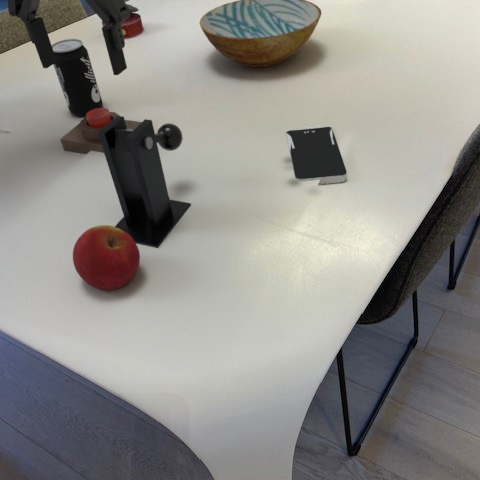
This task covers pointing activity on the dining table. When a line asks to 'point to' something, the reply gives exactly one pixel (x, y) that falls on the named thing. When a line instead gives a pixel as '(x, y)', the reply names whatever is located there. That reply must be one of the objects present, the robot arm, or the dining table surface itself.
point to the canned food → (131, 24)
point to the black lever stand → (141, 184)
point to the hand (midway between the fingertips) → (84, 68)
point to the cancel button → (98, 117)
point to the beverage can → (76, 77)
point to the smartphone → (316, 155)
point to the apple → (106, 257)
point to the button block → (88, 136)
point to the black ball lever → (165, 137)
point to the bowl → (260, 29)
